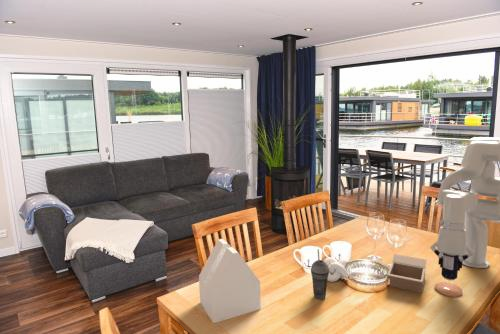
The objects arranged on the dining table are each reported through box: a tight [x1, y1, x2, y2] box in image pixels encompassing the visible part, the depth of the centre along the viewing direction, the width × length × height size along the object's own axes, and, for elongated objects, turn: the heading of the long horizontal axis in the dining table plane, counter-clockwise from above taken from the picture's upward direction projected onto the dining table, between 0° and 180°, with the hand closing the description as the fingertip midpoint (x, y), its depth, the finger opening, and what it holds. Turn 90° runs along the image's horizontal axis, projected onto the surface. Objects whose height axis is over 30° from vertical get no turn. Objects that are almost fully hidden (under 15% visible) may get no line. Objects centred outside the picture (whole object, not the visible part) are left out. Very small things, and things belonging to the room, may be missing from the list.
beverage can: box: [441, 253, 459, 281], centre depth 145 cm, size 6×6×12 cm
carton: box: [385, 253, 427, 293], centre depth 154 cm, size 23×14×7 cm, turn 150°
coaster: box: [434, 281, 463, 298], centre depth 147 cm, size 10×10×1 cm
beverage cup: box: [310, 249, 329, 301], centre depth 143 cm, size 7×7×20 cm
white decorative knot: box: [323, 257, 350, 282], centre depth 158 cm, size 11×12×9 cm
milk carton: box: [198, 238, 262, 324], centre depth 138 cm, size 19×15×25 cm
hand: (449, 267), depth 145 cm, fingers closed on beverage can, 5 cm apart
